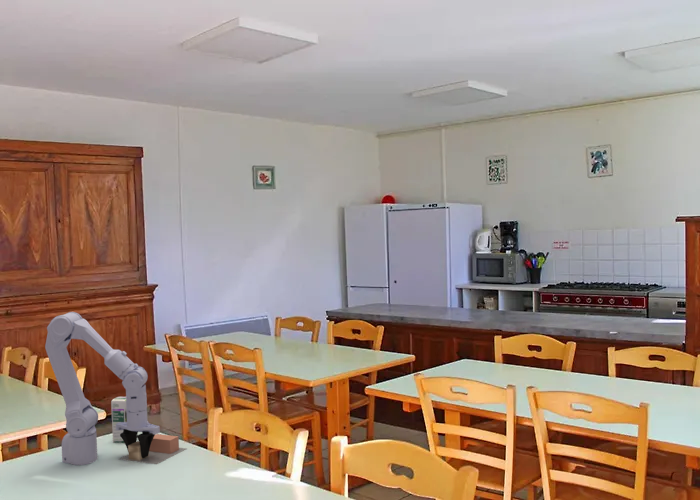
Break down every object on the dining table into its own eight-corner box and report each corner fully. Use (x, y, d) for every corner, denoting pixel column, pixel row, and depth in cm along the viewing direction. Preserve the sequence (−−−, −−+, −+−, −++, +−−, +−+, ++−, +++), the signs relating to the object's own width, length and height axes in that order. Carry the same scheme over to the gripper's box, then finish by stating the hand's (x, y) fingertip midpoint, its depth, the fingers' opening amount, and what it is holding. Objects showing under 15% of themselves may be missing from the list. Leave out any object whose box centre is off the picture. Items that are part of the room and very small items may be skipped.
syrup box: (112, 446, 208) (110, 400, 207) (121, 440, 214) (119, 395, 213) (129, 446, 207) (127, 400, 206) (138, 440, 213) (136, 395, 212)
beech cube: (128, 459, 192) (128, 445, 192) (138, 454, 195) (137, 441, 195) (139, 460, 190) (139, 446, 190) (148, 455, 194) (148, 442, 194)
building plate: (118, 462, 192) (118, 459, 192) (150, 447, 205) (150, 444, 205) (156, 467, 186) (156, 464, 186) (187, 451, 199) (187, 448, 199)
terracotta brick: (148, 451, 198) (148, 437, 198) (157, 447, 202) (157, 434, 202) (170, 453, 195) (169, 440, 195) (179, 449, 199) (178, 436, 199)
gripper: (165, 408, 193) (167, 454, 194) (127, 404, 199) (129, 449, 199) (149, 414, 187) (151, 462, 187) (109, 410, 192) (112, 456, 193)
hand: (138, 456), depth 193 cm, fingers closed on beech cube, 4 cm apart
